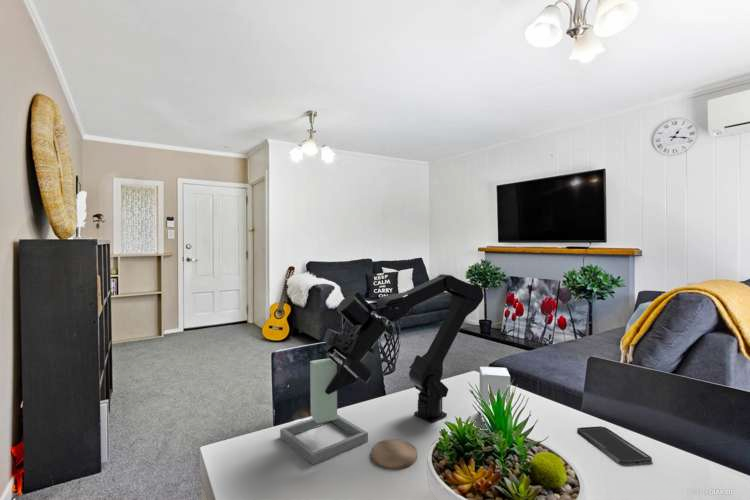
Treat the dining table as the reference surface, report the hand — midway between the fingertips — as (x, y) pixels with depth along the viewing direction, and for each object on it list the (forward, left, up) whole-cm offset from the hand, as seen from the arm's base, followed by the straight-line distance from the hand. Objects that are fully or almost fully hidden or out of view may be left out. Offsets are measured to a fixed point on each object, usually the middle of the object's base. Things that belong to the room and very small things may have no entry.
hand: (322, 389), depth 90 cm
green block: (0, 0, -7) cm, 7 cm away
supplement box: (-41, +20, -12) cm, 47 cm away
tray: (0, 0, -12) cm, 12 cm away
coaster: (-8, +16, -12) cm, 22 cm away
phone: (-49, +45, -13) cm, 68 cm away
